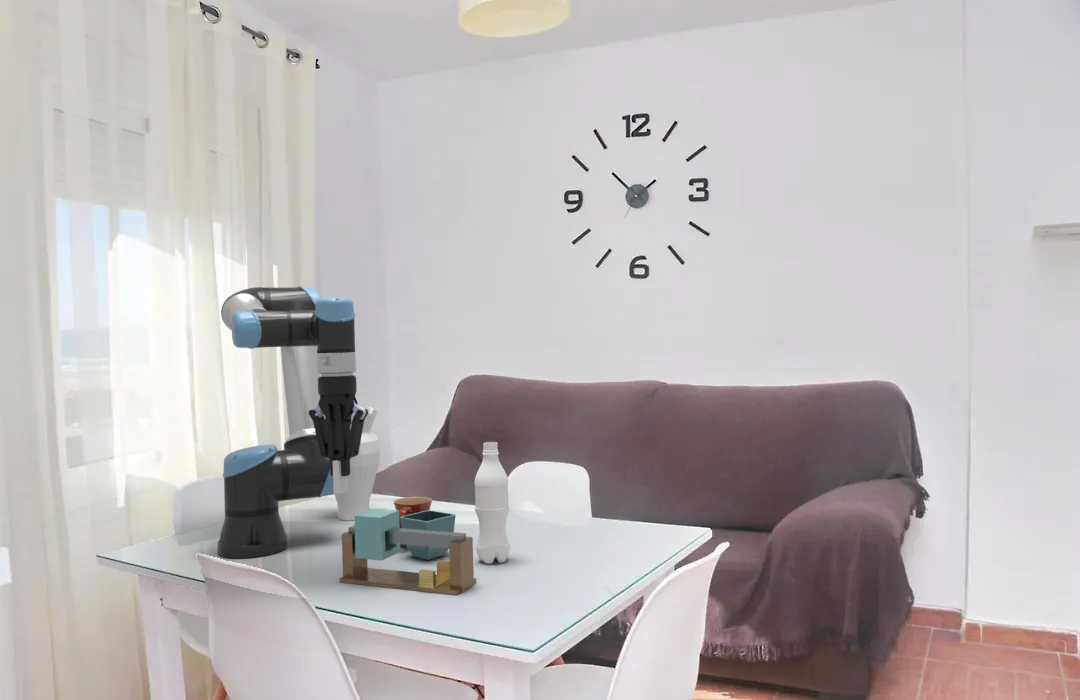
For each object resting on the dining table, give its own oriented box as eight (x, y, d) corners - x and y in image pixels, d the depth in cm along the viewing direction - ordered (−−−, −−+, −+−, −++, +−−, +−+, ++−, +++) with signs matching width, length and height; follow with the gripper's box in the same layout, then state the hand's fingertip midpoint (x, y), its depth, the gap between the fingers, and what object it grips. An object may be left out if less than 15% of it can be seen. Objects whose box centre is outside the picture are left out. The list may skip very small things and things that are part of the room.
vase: (324, 514, 225) (320, 408, 224) (378, 509, 229) (375, 405, 228) (327, 526, 211) (323, 412, 210) (385, 520, 215) (381, 409, 214)
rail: (338, 582, 162) (336, 530, 161) (362, 571, 169) (360, 521, 169) (457, 595, 152) (456, 540, 152) (477, 582, 159) (475, 530, 159)
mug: (403, 539, 194) (401, 496, 194) (438, 540, 193) (437, 496, 193) (383, 553, 183) (382, 507, 183) (420, 554, 181) (419, 507, 181)
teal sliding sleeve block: (355, 558, 161) (354, 515, 161) (374, 549, 167) (373, 508, 167) (381, 560, 159) (380, 517, 158) (400, 551, 165) (399, 510, 165)
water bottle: (480, 566, 170) (476, 446, 169) (473, 557, 177) (470, 441, 176) (513, 563, 172) (510, 443, 171) (506, 554, 179) (503, 439, 178)
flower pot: (430, 548, 185) (428, 509, 185) (457, 554, 180) (456, 514, 180) (400, 557, 179) (398, 516, 178) (428, 564, 173) (426, 521, 173)
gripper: (298, 376, 164) (302, 494, 164) (353, 375, 159) (357, 497, 159) (321, 374, 171) (325, 487, 171) (375, 373, 166) (378, 490, 166)
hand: (340, 492), depth 165 cm, fingers closed
